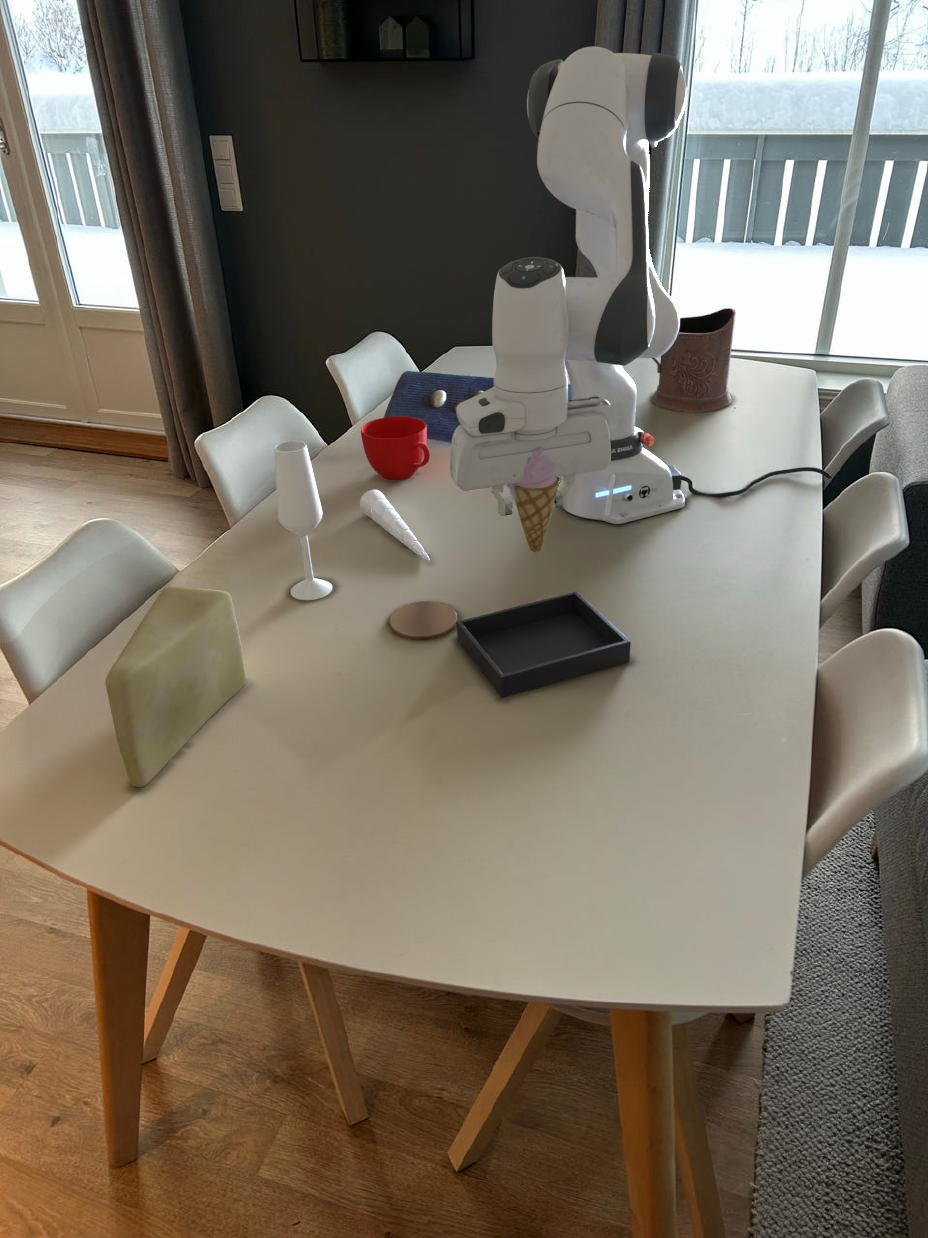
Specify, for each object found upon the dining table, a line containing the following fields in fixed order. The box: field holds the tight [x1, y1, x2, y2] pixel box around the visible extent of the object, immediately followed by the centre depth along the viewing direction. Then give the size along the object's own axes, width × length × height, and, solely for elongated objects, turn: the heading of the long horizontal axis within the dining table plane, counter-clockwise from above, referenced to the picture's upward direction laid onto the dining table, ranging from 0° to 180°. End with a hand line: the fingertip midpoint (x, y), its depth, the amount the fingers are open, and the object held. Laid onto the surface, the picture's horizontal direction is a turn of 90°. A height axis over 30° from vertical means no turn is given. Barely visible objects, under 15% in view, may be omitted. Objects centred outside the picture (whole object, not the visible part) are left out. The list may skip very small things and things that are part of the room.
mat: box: [383, 370, 572, 444], centre depth 205 cm, size 45×27×12 cm, turn 82°
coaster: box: [389, 600, 458, 640], centre depth 134 cm, size 10×10×1 cm
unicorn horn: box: [359, 489, 431, 561], centre depth 158 cm, size 5×24×5 cm, turn 25°
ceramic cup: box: [360, 416, 431, 482], centre depth 179 cm, size 13×17×10 cm
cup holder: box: [651, 307, 737, 413], centre depth 209 cm, size 18×24×25 cm
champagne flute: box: [273, 440, 333, 601], centre depth 138 cm, size 7×7×24 cm
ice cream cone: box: [506, 446, 560, 553], centre depth 115 cm, size 7×6×15 cm
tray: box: [456, 590, 632, 699], centre depth 126 cm, size 19×15×3 cm
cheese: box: [104, 586, 247, 788], centre depth 111 cm, size 22×10×15 cm, turn 168°
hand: (531, 509), depth 116 cm, fingers closed on ice cream cone, 6 cm apart
